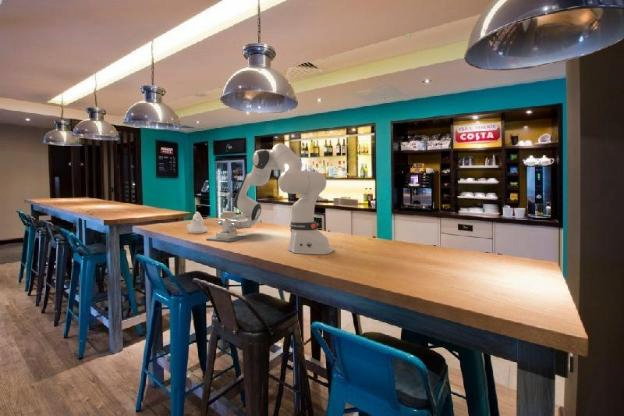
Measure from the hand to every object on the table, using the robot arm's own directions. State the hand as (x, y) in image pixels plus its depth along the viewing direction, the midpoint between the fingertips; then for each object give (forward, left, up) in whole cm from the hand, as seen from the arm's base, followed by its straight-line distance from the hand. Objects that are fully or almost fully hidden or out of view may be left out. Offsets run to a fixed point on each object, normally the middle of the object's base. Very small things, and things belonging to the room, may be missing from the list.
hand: (225, 224), depth 203 cm
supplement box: (+16, -26, -9) cm, 31 cm away
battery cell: (0, -1, -8) cm, 8 cm away
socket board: (0, -1, -9) cm, 9 cm away
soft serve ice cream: (+33, -15, -9) cm, 37 cm away
